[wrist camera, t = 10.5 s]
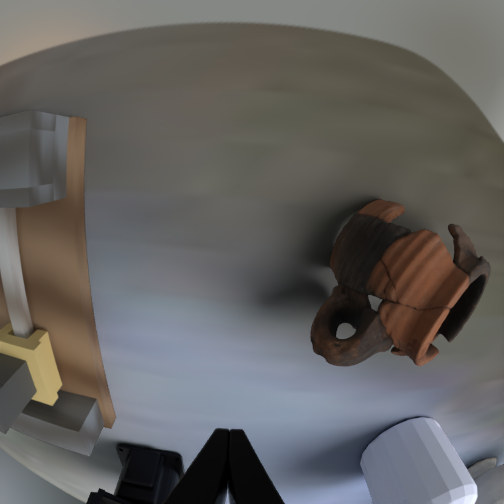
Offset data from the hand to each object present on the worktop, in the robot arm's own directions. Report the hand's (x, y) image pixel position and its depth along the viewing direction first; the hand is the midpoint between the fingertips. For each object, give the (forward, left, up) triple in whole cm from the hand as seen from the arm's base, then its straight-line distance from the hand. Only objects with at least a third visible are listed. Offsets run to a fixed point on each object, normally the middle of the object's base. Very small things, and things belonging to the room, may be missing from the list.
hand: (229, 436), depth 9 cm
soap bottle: (-17, -17, -12) cm, 27 cm away
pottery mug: (+1, -10, -12) cm, 16 cm away
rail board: (-2, +16, -12) cm, 20 cm away
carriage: (-6, +16, -10) cm, 20 cm away
